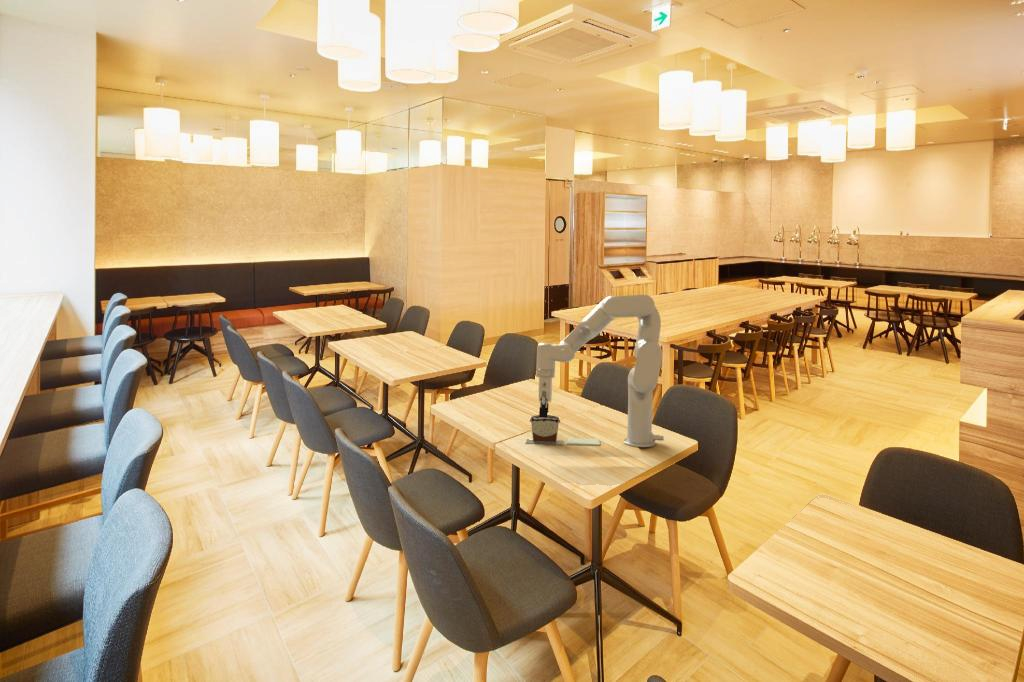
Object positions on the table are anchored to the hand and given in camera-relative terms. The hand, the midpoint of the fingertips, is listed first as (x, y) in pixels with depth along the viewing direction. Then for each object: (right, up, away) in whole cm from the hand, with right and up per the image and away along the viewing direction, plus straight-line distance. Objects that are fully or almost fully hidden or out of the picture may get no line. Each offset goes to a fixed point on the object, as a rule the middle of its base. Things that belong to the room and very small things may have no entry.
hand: (543, 414), depth 225 cm
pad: (+16, -11, 0) cm, 19 cm away
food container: (+1, -11, +1) cm, 11 cm away
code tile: (+1, -11, +1) cm, 11 cm away
